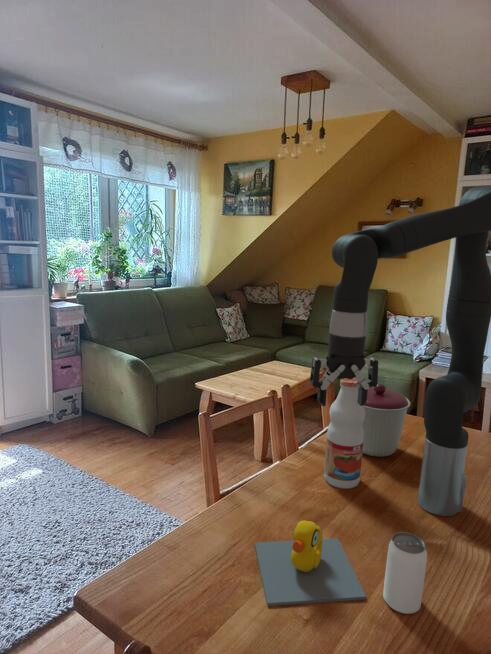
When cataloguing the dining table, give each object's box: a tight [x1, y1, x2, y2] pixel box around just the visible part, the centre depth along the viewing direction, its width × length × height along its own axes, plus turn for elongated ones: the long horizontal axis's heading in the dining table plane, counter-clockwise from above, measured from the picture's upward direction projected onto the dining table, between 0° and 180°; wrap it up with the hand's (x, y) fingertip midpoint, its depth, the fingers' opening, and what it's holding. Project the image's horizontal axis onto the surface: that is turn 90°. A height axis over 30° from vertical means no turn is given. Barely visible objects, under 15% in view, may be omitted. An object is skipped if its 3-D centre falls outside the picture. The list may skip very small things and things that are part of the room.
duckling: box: [291, 519, 323, 572], centre depth 88 cm, size 11×5×10 cm, turn 149°
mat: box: [254, 538, 367, 607], centre depth 89 cm, size 18×16×1 cm
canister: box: [362, 382, 411, 458], centre depth 139 cm, size 18×18×21 cm
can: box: [382, 531, 428, 615], centre depth 81 cm, size 6×6×12 cm
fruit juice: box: [323, 377, 365, 490], centre depth 120 cm, size 9×9×28 cm
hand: (341, 404), depth 99 cm, fingers open, 8 cm apart
